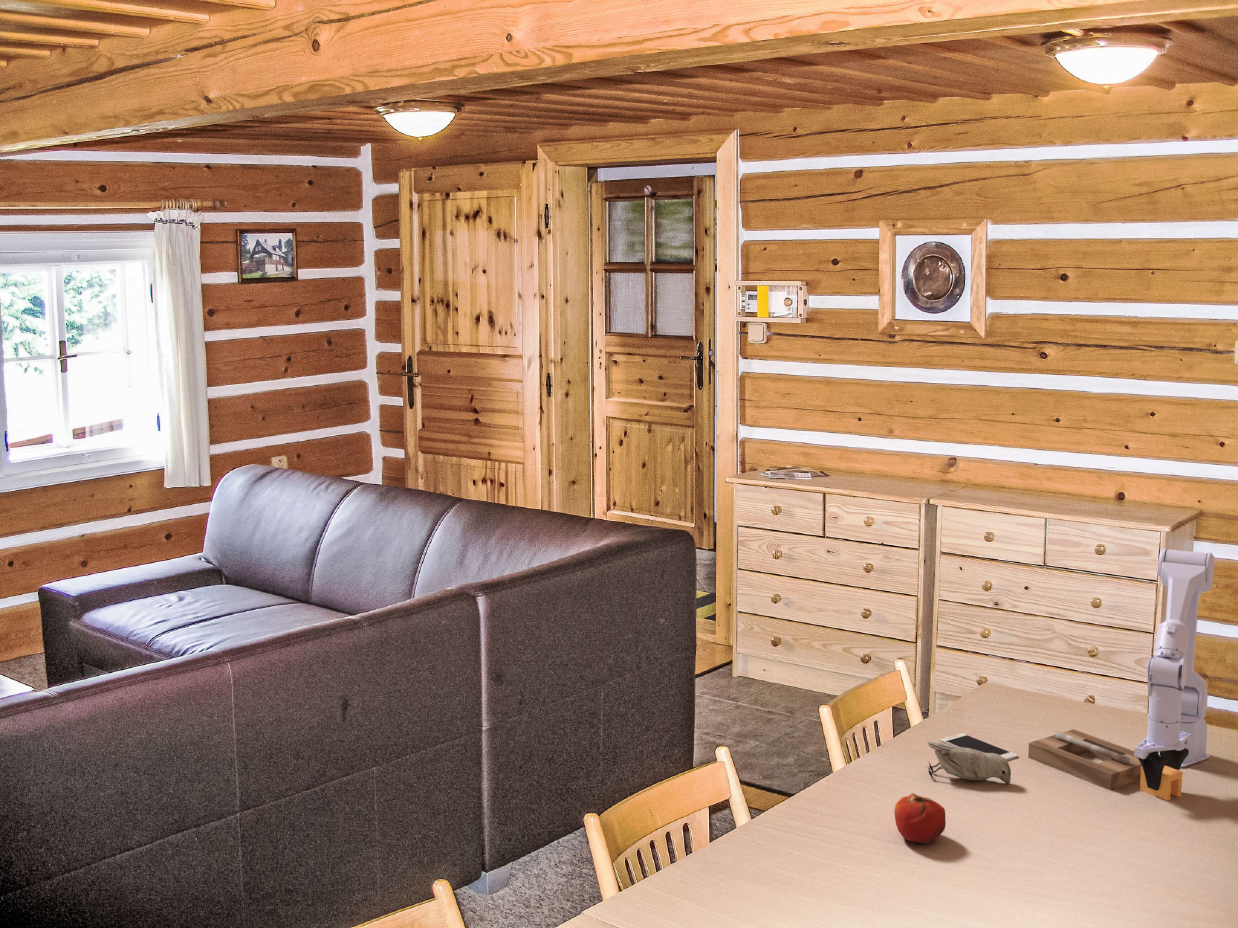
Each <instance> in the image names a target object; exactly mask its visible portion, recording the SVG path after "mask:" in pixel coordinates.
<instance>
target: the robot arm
mask: <svg viewBox="0 0 1238 928" xmlns="http://www.w3.org/2000/svg"><path fill="white" fill-rule="evenodd" d="M1215 561H1216V560H1215V556H1214V555H1213V553H1212V552H1199V551H1191V550H1190V551H1189V550H1180V549H1168V548H1167V547H1166V548H1163V549H1161V551H1160V553H1159V557H1158V562H1157V563H1158V564H1157V565H1158V567H1157V571H1158V573H1157V575H1158V576H1159V579H1160V581H1161V584H1162V585H1163V586H1164V587H1166V588H1167V599H1166V612H1165V613H1166V614H1165V620H1164V621H1163V622H1161V623H1160V624H1158V627H1157V631H1156V638H1155V643H1154V649H1153V654H1152V655H1153V656H1152V657H1150V658H1149V660H1148V662H1147V667H1146V681H1147V695H1149V696H1148V714H1147V717H1148V718H1147V734H1146V735H1147V736H1146V737H1145V738H1144V739H1143V740H1142V741H1140V743H1139V744H1137V745H1135V746H1134V750H1133V751H1134V756H1136V757H1138V759H1139V761H1140V763H1141V765H1142V767H1143V770H1144V774H1145V778H1146V783H1147V787H1148V788H1151V789H1153V790H1159V787H1160V783H1161V776H1162V772H1163V769H1164V766H1168V767H1171V768H1173V769H1176V770H1179V771H1180V768H1185V767H1187V766H1190V765H1194V764H1196V763H1199V762H1202V761H1204V760H1208V759H1210V758H1211V755H1209V754H1207V740H1208V725H1207V722H1206V720H1205V717H1206V714H1207V709H1208V708H1207V707H1208V697H1209V696H1208V683H1207V680H1205V679H1204V678H1203V676H1202V675H1200V674H1199V673H1198V672H1196V671H1195V669H1194V668H1195V654H1196V641H1197V629H1198V616H1199V615H1198V614H1199V602H1200V598H1201V597H1202V594H1203V593H1205V592H1208V591H1212V587H1213V585H1214V584H1213V583H1214V575H1215V566H1216V565H1215V563H1216V562H1215Z"/></svg>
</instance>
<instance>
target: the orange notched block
mask: <svg viewBox="0 0 1238 928" xmlns="http://www.w3.org/2000/svg"><path fill="white" fill-rule="evenodd" d="M1139 781H1140V783H1139V790H1140V791H1142V792H1144V793H1146V794H1150V795H1152V796H1155V797H1158V798H1160V799H1162V800H1164V801H1165V800H1166V801H1170V800H1171V795H1173V796H1176V797H1182V788H1183V787H1182V786H1183V785H1182V784H1183V771H1181V770H1180V769H1179V770H1176V769H1173V768H1171V767H1168V766H1164V769H1163V772H1162V776H1161V783H1160V787H1159V790H1153V789H1151V788H1148V787H1147V783H1146V778H1145V774H1144V770H1143V767H1142V766H1141V779H1140V780H1139Z"/></svg>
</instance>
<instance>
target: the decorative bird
mask: <svg viewBox="0 0 1238 928" xmlns="http://www.w3.org/2000/svg"><path fill="white" fill-rule="evenodd" d="M927 746H928V747H930V748H931V749H933V750H934V753H935V756H936V758H937V761H938V762H937V764H935V765H932V764H931V762H930V761H929V760H927V762H928V765H929V766H926V767H927V768H928V774H929V776H930V777H931V779H930V780H932V781H933V780H934V777H933V774H935V773H936V772H938V771H939V770H944V771H945V772H946V774H949V775H952V776H953V777H957V778H960V779H963V780H964V779H965V780H969V781H985V780H988V779H990V778H996V779H999V780H1001V782H1003V783H1005V784H1007V785H1010V783H1011V778H1012V777H1011V775H1012V774H1011V773H1012V769H1011V765H1010V763H1009V762H1008V761H1007V760H1006V759H1005V758H1004V757H1002V756H1000V755H998V754H994V753H984V752H981V751H978V750H974V749H970V748H964V747H953V746H949V745H947V744H944V743H942V742H934V741H929V740H927ZM939 765H940V766H939ZM936 767H937V768H936ZM934 768H936V769H935V770H934Z"/></svg>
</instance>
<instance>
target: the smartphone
mask: <svg viewBox="0 0 1238 928" xmlns="http://www.w3.org/2000/svg"><path fill="white" fill-rule="evenodd" d="M939 743H942V744H946V745H949V746H953V747H964V748H970V749H974V750H978V751H981V752H984V753H994V754H998V755H1000V756H1002V757H1004V758H1005V759H1006V760H1007V762H1008V761H1010V760H1013V759H1017V758H1019V754H1017V753H1015V752H1012V751H1009V750H1007V749H1004V748H1002V747H1000V746H997V745H994V744H992V743H989V742H987V741H983V740H982V739H978V738H976V737H973V736H971V735H969V734H966V733H963V732H961V733H958V734H954V735H950V736H946V737H943V738H940V739H939Z"/></svg>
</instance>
